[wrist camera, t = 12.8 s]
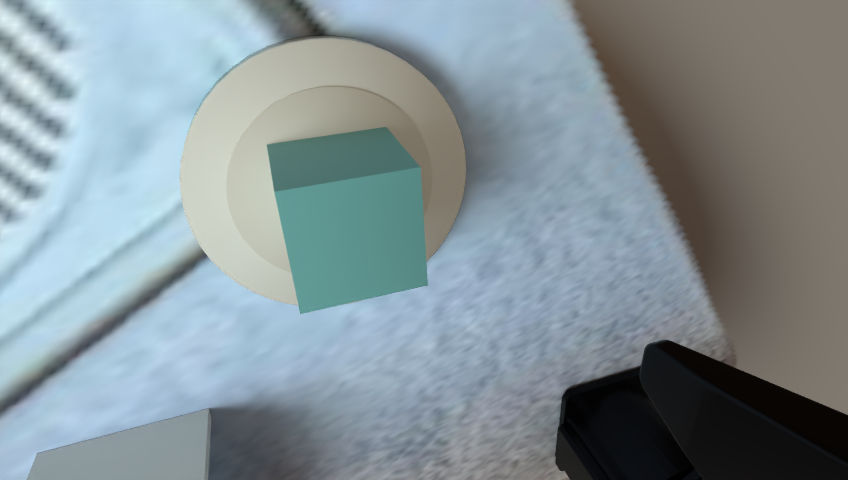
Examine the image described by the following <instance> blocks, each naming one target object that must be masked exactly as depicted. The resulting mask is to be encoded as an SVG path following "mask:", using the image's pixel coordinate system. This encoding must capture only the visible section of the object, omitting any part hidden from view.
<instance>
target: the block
mask: <svg viewBox="0 0 848 480" xmlns="http://www.w3.org/2000/svg"><path fill="white" fill-rule="evenodd" d="M267 150H268V156H269V162H270V169H271V175H272V181H273V187H274V193H275V198H276V203H277V207H278V212H279V217H280V221H281V226H282V231H283V235H284V240H285V245H286V249H287V254H288V259H289V263H290V268H291V273H292V277H293V282H294V287H295V291H296V296H297V301H298V305H299V310H300V314H302V313H307V312H311V311H315V310H320V309H324V308H329V307H333V306H338V305H342V304H347V303H351V302H355V301H360V300H364V299H369V298H373V297H378V296H382V295H387V294H391V293H395V292H400V291H404V290H409V289H413V288H418V287H422V286H427V285H428V281H427V265H426V248H425V231H424V215H423V198H422V181H421V167H420V166H419V165H418V163H417V162H416V161H415V160H414V159H413V158H412V156H411V155H410V154H409V153H408V152H407V151H406V149H405V148H404V147H403V146H402V145H401V143H400V142H399V141H398V140H397V139H396V138H395V136H394V135H393V134H392V133H391V132H390V131H389V129H388V128H387V127H381V128H374V129H368V130H361V131H354V132H347V133H340V134H334V135H327V136H320V137H313V138H306V139H300V140H293V141H286V142H279V143H272V144H267Z"/></svg>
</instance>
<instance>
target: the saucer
mask: <svg viewBox="0 0 848 480" xmlns="http://www.w3.org/2000/svg"><path fill="white" fill-rule="evenodd" d="M381 127H387V128H388V129H389V131H390V132H391V133H392V134H393V135H394V136H395V138H396V139H397V140H398V141H399V142H400V143H401V145H402V146H403V147H404V148H405V149H406V151H407V152H408V153H409V154H410V155H411V156H412V158H413V159H414V160H415V161H416V162H417V163H418V165H419V166H420V167H421V181H422V198H423V215H424V231H425V248H426V262H427V261H428V260H429V259H430V258H431V257H432V256H433V254H434V253H435V252H436V251H437V249H438V248H439V247H440V245H441V244H442V243H443V241H444V240H445V238H446V236H447V235H448V233H449V231H450V230H451V228H452V226H453V224H454V221H455V219H456V217H457V215H458V212H459V209H460V206H461V202H462V199H463V194H464V189H465V183H466V156H465V148H464V143H463V139H462V134H461V131H460V129H459V126H458V123H457V121H456V118H455V116H454V114H453V112H452V110H451V109H450V107H449V105H448V103H447V101H446V100H445V99H444V97H443V96H442V95H441V93H440V92H439V91H438V89H437V88H436V87H435V86H434V85H433V84H432V83H431V82H430V81H429V80H428V79H427V78H426V77H425V76H424V75H423V74H422V73H421V72H419V71H418V70H417V69H415V68H414V67H413V66H411V65H410V64H409V63H407V62H406V61H404V60H403V59H401V58H399V57H398V56H396V55H394V54H392V53H391V52H389V51H387V50H385V49H383V48H381V47H378V46H375V45H373V44H370V43H368V42H364V41H360V40H356V39H352V38H348V37H338V36H306V37H301V38H295V39H290V40H286V41H282V42H279V43H276V44H273V45H270V46H267V47H265V48H263V49H261V50H259V51H257V52H255V53H253V54H251V55H249V56H248V57H246V58H245V59H243V60H242V61H240V62H239V63H238V64H236V65H235V66H233V67H232V68H231V69H230V70H229V71H228V72H226V73H225V74H224V75H223V76H222V77H221V78H220V79H219V80H218V81H217V82H216V83H215V85H214V86H213V87H212V88H211V89H210V91H209V92H208V93H207V94H206V96H205V97H204V99H203V101H202V102H201V104H200V106H199V107H198V109H197V111H196V113H195V115H194V117H193V120H192V122H191V125H190V127H189V130H188V133H187V137H186V140H185V145H184V149H183V154H182V158H181V168H180V188H181V199H182V203H183V207H184V211H185V215H186V218H187V220H188V223H189V225H190V228H191V230H192V233H193V234H194V236H195V238H196V240H197V241H198V243H199V245H200V246H201V248H202V249H203V251H204V252H205V253H206V254H207V256H208V257H209V258H210V259H211V261H212V262H213V263H214V264H215V265H216V266H217V267H218V268H219V269H220V270H221V271H223V272H224V273H225V274H226V275H227V276H229V277H230V278H231V279H233V280H234V281H235V282H237V283H238V284H240V285H241V286H243V287H245V288H247V289H249V290H250V291H252V292H254V293H256V294H259V295H261V296H264V297H266V298H269V299H272V300H275V301H279V302H283V303H287V304H293V305H298V301H297V296H296V291H295V287H294V282H293V277H292V273H291V268H290V263H289V259H288V254H287V249H286V245H285V240H284V235H283V231H282V226H281V221H280V217H279V212H278V207H277V203H276V198H275V193H274V187H273V181H272V175H271V169H270V162H269V156H268V150H267V144H272V143H279V142H286V141H293V140H300V139H306V138H313V137H320V136H327V135H334V134H340V133H347V132H354V131H361V130H368V129H374V128H381ZM360 301H361V300H360ZM355 302H357V301H355ZM351 303H354V302H351ZM347 304H349V303H347ZM342 305H343V304H342Z"/></svg>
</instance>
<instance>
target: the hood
mask: <svg viewBox="0 0 848 480" xmlns="http://www.w3.org/2000/svg"><path fill="white" fill-rule="evenodd" d="M211 417H212V416H211V414H210V411H209V409H204V410H201V411H197V412H193V413H189V414H185V415H182V416H178V417H174V418H170V419H166V420H163V421H159V422H155V423H151V424H147V425H144V426H140V427H136V428H132V429H129V430H125V431H121V432H117V433H113V434H110V435H106V436H102V437H98V438H94V439H91V440H87V441H83V442H79V443H75V444H72V445H68V446H64V447H60V448H56V449H53V450H49V451H45V452H41V453H37V455H36V457H35V460H34V463H33V465H32V468H31V470H30V473H29V475H28V478H27V480H208V474H209V455H210V436H211Z"/></svg>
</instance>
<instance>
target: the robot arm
mask: <svg viewBox="0 0 848 480" xmlns="http://www.w3.org/2000/svg"><path fill="white" fill-rule="evenodd" d="M555 456H556V462H555V463H556V465H557V467H558V469H559V470H560V471H565V472H566V474H567V475H568V477H569V478H570V480H848V415H846V414H844V413H842V412H839V411H837V410H834V409H832V408H829V407H827V406H825V405H823V404H820V403H818V402H815V401H813V400H811V399H808V398H805V397H803V396H801V395H799V394H796V393H794V392H791V391H789V390H787V389H784V388H782V387H779V386H777V385H775V384H772V383H770V382H768V381H765V380H763V379H760V378H758V377H756V376H753V375H751V374H748V373H746V372H744V371H741V370H739V369H736V368H734V367H732V366H729V365H727V364H725V363H722V362H720V361H717V360H715V359H713V358H710V357H708V356H705V355H703V354H701V353H698V352H696V351H693V350H691V349H689V348H686V347H684V346H682V345H679V344H677V343H674V342H672V341H669V340H660V341H657V342H653V343H650V344H648V345H647V346H646V347H645V349H644V354H643V359H642V364H641V369H638V370H634V371H631V372H628V373H624V374H621V375H618V376H614V377H611V378H608V379H604V380H601V381H598V382H594V383H591V384H588V385H584V386H581V387H577V388H574V389H571V390H569V391H567V392H566V393H564V395H563V397H562V403H561V413H560V423H559V427H558V433H557V443H556V453H555Z"/></svg>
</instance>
